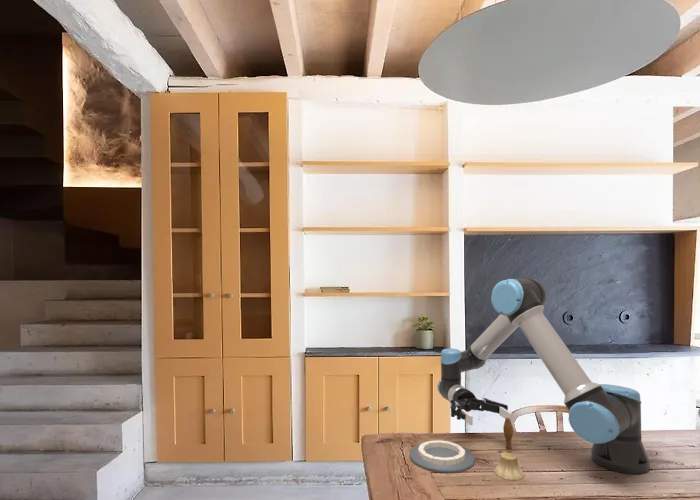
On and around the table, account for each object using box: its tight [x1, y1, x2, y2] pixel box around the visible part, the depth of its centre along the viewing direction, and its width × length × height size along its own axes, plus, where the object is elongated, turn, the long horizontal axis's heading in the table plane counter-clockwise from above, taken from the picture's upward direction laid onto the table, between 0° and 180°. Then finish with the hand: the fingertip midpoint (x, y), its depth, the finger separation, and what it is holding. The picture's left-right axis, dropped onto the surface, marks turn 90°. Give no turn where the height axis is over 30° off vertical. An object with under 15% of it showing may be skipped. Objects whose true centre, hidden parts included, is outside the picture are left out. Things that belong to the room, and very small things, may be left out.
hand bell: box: [493, 418, 525, 482], centre depth 127 cm, size 8×8×16 cm
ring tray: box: [409, 439, 475, 474], centre depth 137 cm, size 20×20×2 cm
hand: (491, 419), depth 136 cm, fingers open, 13 cm apart
